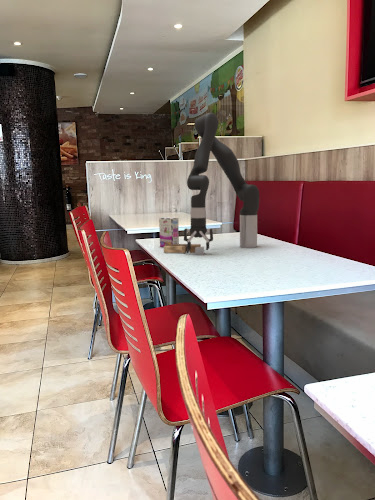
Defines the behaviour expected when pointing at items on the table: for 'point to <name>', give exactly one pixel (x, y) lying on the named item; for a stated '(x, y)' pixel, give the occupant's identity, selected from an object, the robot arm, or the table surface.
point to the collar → (199, 251)
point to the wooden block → (187, 247)
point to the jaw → (174, 249)
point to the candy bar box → (168, 231)
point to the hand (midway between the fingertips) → (198, 249)
